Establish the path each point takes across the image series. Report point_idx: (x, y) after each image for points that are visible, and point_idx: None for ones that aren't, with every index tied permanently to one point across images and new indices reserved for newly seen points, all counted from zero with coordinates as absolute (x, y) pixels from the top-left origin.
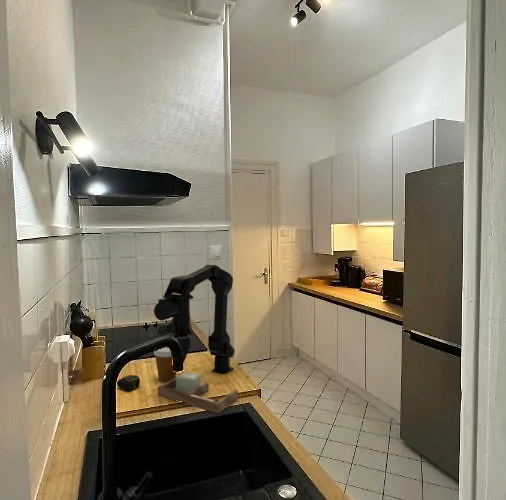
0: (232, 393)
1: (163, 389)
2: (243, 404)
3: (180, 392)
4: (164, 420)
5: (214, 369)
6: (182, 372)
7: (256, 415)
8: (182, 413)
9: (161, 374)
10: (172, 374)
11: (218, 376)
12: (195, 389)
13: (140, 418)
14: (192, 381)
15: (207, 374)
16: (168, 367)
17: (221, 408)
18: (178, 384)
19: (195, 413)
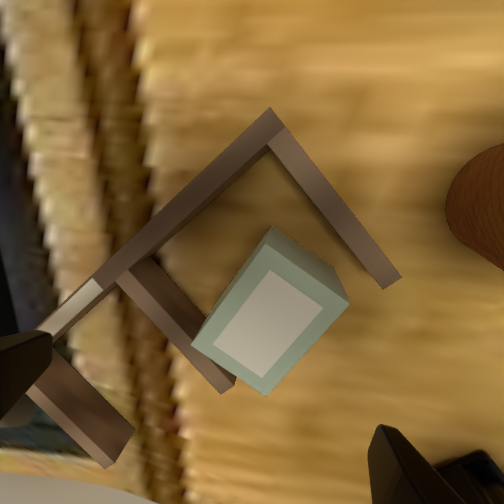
0: (81, 443)
1: (229, 146)
2: None
3: (142, 237)
4: (2, 132)
5: (466, 470)
6: (347, 302)
7: (5, 439)
8: (51, 217)
9: (501, 153)
10: (468, 235)
11: None
12: (160, 317)
13: (32, 11)
14: (202, 327)
15: (447, 418)
16: (502, 214)
17: None
18: (260, 245)
19: (44, 267)
